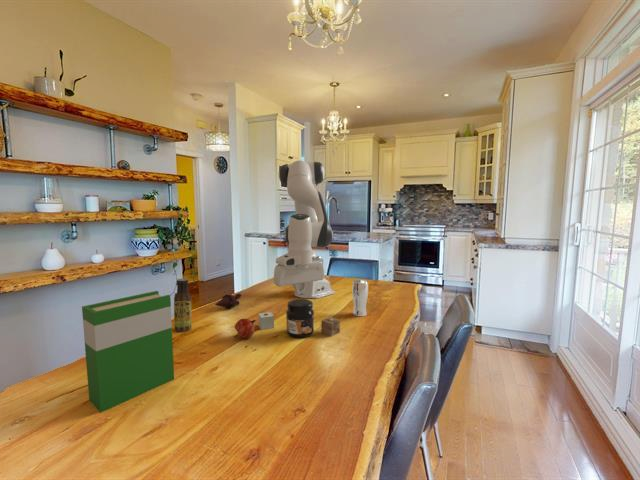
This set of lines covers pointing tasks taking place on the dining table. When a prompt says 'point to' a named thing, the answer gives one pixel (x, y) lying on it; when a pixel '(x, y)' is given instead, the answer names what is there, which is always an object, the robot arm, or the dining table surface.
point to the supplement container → (300, 318)
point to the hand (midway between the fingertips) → (299, 294)
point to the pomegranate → (245, 328)
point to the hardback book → (127, 347)
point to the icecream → (229, 301)
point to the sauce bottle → (182, 306)
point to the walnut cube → (330, 326)
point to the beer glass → (360, 297)
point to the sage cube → (266, 320)
